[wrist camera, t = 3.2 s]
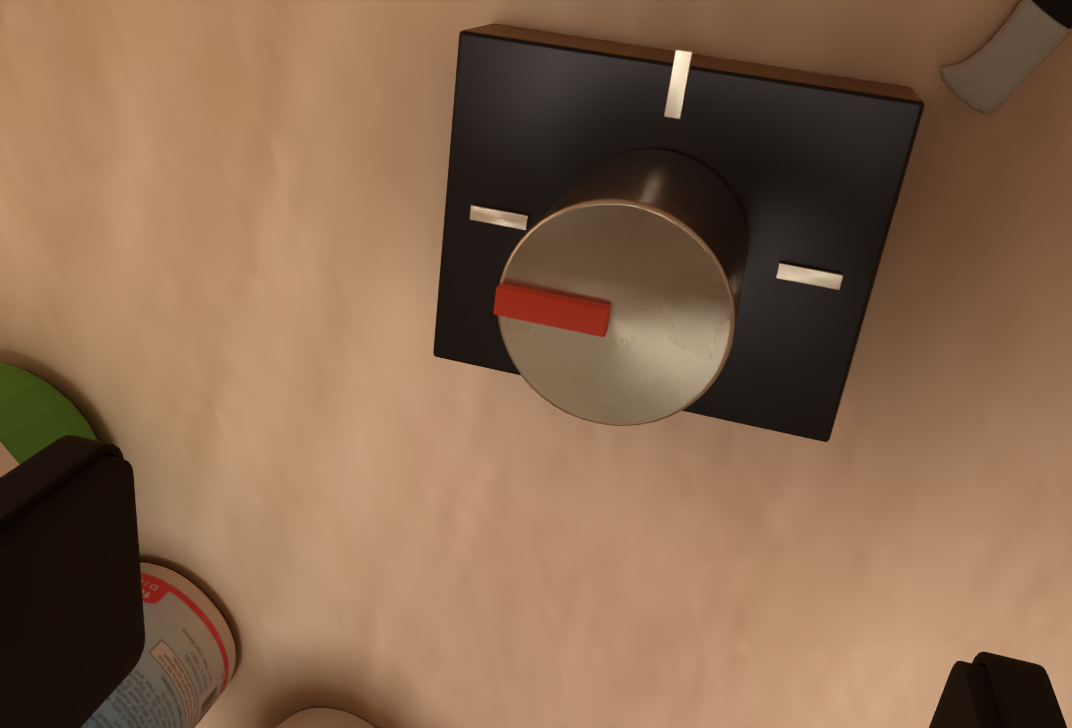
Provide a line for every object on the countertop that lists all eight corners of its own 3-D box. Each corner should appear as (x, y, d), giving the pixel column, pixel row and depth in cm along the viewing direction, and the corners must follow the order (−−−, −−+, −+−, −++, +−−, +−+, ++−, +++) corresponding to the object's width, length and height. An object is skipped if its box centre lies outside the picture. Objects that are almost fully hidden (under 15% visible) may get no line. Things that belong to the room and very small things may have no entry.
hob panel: (916, 73, 21) (931, 87, 19) (823, 410, 25) (825, 458, 23) (492, 9, 23) (457, 15, 21) (461, 333, 27) (428, 370, 24)
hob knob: (767, 166, 21) (758, 229, 16) (726, 352, 22) (707, 458, 18) (569, 132, 21) (504, 183, 17) (545, 314, 23) (480, 406, 18)
